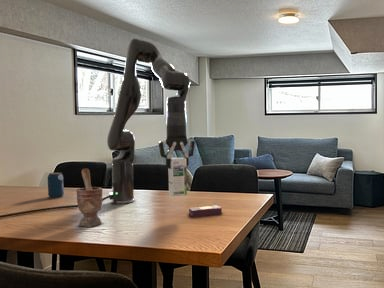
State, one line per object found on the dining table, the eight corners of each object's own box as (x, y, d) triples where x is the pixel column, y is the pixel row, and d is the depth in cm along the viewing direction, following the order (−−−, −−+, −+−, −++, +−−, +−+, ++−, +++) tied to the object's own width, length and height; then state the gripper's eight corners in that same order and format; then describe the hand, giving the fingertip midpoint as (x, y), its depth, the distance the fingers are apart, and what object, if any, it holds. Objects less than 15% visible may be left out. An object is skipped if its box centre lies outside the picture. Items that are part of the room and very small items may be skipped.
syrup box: (172, 196, 145) (172, 158, 144) (168, 194, 150) (167, 157, 150) (187, 195, 148) (186, 157, 147) (182, 192, 153) (182, 156, 152)
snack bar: (192, 217, 149) (192, 210, 149) (189, 214, 154) (189, 207, 154) (221, 213, 155) (221, 207, 154) (217, 211, 159) (217, 205, 159)
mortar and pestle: (68, 223, 140) (66, 169, 139) (90, 219, 147) (88, 167, 146) (86, 228, 134) (84, 171, 133) (108, 223, 141) (106, 169, 140)
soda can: (66, 196, 193) (66, 172, 192) (53, 198, 187) (52, 174, 187) (58, 195, 197) (58, 171, 196) (45, 197, 191) (44, 173, 190)
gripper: (192, 124, 154) (192, 165, 155) (155, 124, 148) (156, 167, 149) (197, 124, 147) (198, 167, 148) (159, 124, 141) (160, 170, 142)
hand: (177, 167), depth 149 cm, fingers closed on syrup box, 5 cm apart
